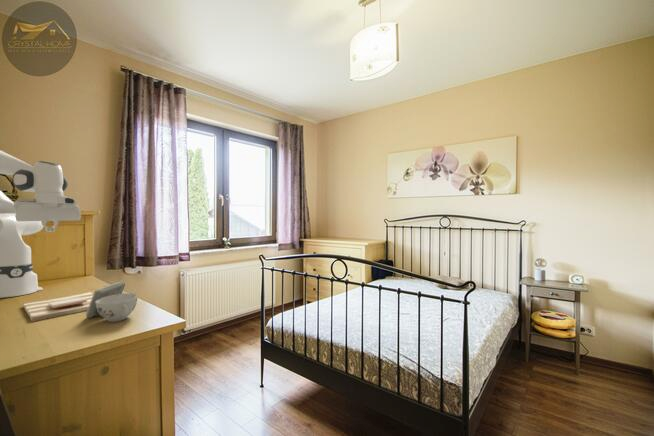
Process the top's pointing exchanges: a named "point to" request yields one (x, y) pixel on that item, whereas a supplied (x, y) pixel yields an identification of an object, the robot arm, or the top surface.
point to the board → (44, 311)
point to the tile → (67, 302)
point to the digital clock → (101, 293)
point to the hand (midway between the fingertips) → (50, 231)
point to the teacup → (116, 306)
